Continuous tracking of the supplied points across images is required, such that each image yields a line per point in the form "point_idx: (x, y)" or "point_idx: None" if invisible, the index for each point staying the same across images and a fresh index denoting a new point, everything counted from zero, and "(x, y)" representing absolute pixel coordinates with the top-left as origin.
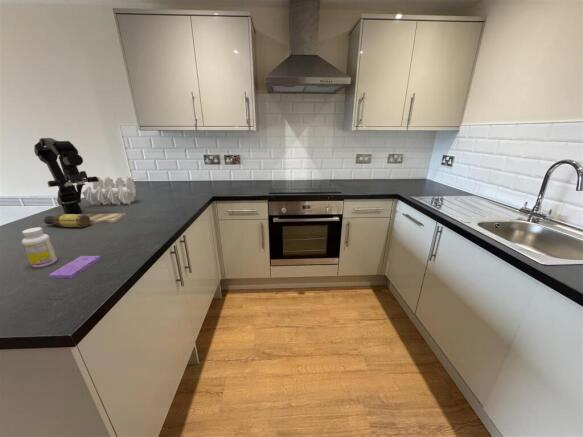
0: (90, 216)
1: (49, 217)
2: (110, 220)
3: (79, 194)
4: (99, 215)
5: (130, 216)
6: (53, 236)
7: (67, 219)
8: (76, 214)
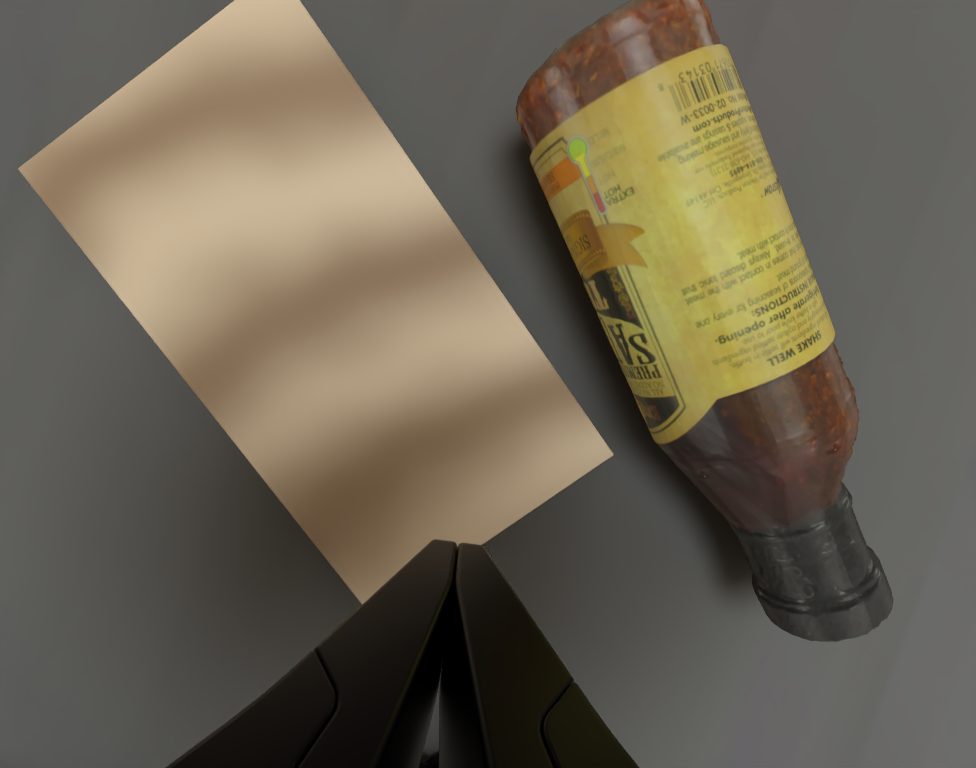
0: (395, 454)
1: (858, 563)
2: (304, 10)
3: (425, 601)
4: (303, 395)
5: (23, 60)
6: (926, 83)
7: (782, 193)
8: (671, 169)
